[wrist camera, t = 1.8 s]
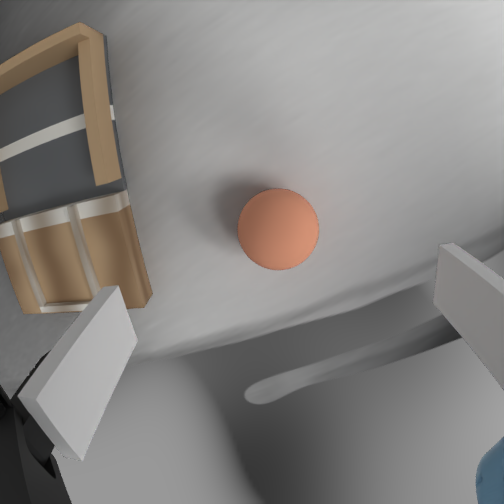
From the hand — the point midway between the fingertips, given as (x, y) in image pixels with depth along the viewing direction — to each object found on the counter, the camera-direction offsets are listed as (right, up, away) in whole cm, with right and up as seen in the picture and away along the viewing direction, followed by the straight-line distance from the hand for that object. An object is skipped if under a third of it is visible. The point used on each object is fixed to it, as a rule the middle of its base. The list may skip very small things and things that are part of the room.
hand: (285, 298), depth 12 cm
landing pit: (-19, +12, +9) cm, 24 cm away
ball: (0, +3, +9) cm, 10 cm away
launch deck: (-17, +2, +13) cm, 22 cm away
